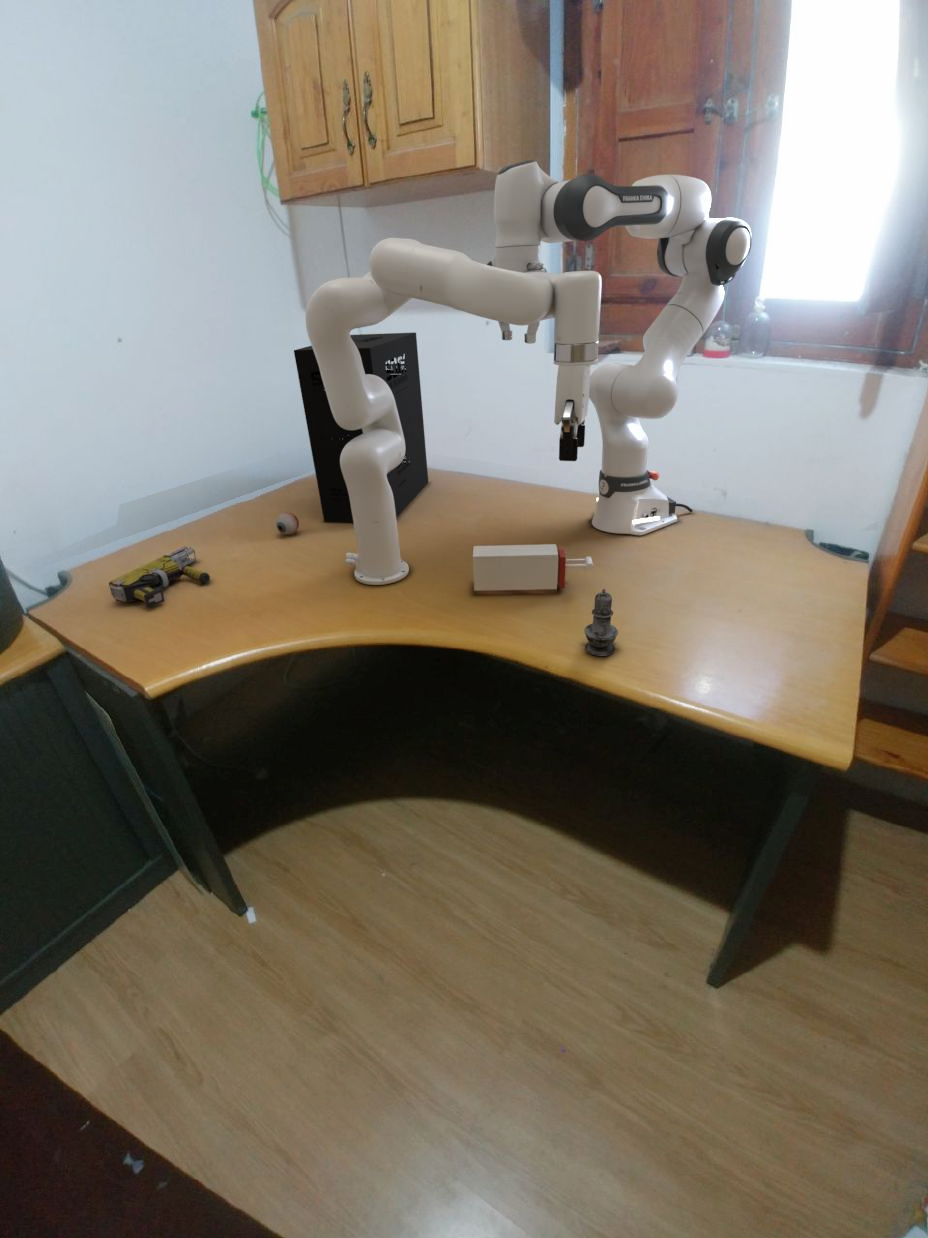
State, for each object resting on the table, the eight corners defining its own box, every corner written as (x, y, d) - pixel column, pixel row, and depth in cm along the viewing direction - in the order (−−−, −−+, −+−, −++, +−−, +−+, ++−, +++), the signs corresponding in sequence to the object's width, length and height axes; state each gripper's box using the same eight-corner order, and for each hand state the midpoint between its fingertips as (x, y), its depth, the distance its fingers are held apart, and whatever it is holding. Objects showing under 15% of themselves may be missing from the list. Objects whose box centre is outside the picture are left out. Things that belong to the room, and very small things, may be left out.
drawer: (590, 578, 131) (591, 548, 127) (592, 587, 127) (594, 556, 123) (487, 580, 132) (486, 550, 129) (487, 589, 129) (486, 558, 125)
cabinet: (554, 581, 132) (555, 543, 128) (556, 593, 128) (557, 554, 123) (475, 583, 134) (473, 545, 129) (474, 594, 129) (472, 556, 124)
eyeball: (273, 537, 164) (268, 516, 161) (287, 528, 169) (282, 508, 166) (291, 539, 161) (286, 518, 158) (305, 530, 166) (301, 510, 163)
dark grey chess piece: (616, 658, 105) (622, 597, 99) (582, 655, 106) (586, 595, 100) (616, 640, 110) (621, 581, 104) (583, 638, 111) (587, 580, 105)
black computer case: (391, 523, 168) (370, 347, 145) (324, 521, 172) (293, 350, 150) (428, 482, 199) (416, 332, 177) (370, 481, 204) (351, 334, 181)
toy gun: (232, 554, 147) (182, 544, 151) (158, 595, 127) (102, 582, 130) (235, 572, 149) (185, 561, 153) (162, 615, 129) (107, 601, 133)
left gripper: (561, 347, 112) (559, 441, 120) (544, 361, 98) (543, 465, 106) (603, 347, 110) (597, 442, 118) (591, 360, 95) (586, 467, 104)
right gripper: (561, 261, 111) (559, 343, 118) (506, 265, 127) (507, 337, 134) (531, 263, 109) (531, 346, 116) (480, 266, 125) (482, 339, 132)
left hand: (571, 453), depth 112 cm, fingers open, 9 cm apart
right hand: (518, 341), depth 125 cm, fingers open, 8 cm apart
